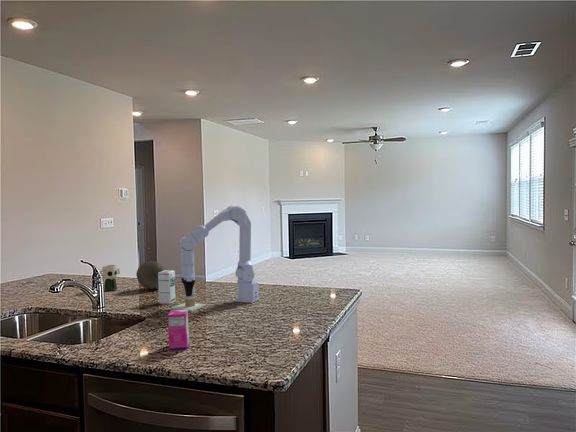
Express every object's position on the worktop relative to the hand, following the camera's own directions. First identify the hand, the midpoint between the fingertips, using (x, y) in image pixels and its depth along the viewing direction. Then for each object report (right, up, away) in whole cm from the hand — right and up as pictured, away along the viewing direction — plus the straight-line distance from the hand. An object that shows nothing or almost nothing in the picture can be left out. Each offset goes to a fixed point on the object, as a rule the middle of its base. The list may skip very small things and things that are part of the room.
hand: (188, 295), depth 196 cm
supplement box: (+8, -8, -52) cm, 53 cm away
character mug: (-50, -5, +40) cm, 64 cm away
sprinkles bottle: (+1, -5, +1) cm, 5 cm away
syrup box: (-12, -5, +10) cm, 17 cm away
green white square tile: (0, -5, 0) cm, 5 cm away
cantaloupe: (-28, -4, +40) cm, 49 cm away
